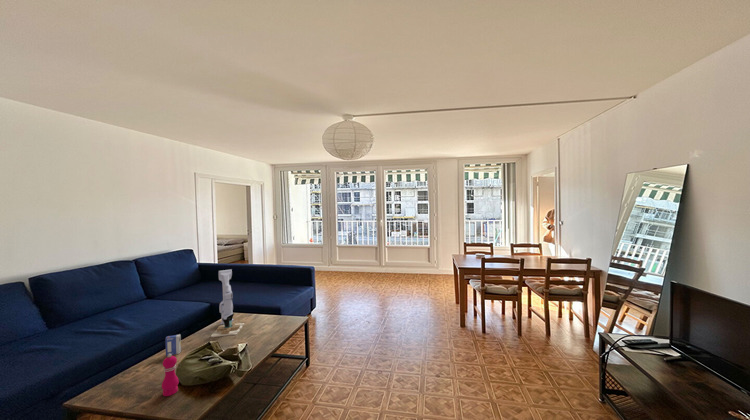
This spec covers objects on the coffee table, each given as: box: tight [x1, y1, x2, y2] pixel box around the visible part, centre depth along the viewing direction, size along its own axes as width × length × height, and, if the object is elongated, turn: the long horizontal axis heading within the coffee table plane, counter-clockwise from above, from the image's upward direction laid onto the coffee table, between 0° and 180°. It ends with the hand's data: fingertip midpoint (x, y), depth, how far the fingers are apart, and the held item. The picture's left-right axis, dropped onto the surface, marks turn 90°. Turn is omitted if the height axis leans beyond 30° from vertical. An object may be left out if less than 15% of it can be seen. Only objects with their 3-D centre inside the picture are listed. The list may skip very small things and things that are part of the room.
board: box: [210, 321, 245, 338], centre depth 218 cm, size 20×18×3 cm
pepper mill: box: [161, 354, 180, 397], centre depth 144 cm, size 7×7×20 cm
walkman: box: [164, 333, 182, 357], centre depth 183 cm, size 8×3×12 cm, turn 110°
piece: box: [223, 320, 233, 328], centre depth 218 cm, size 4×4×6 cm
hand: (228, 325), depth 218 cm, fingers open, 6 cm apart
